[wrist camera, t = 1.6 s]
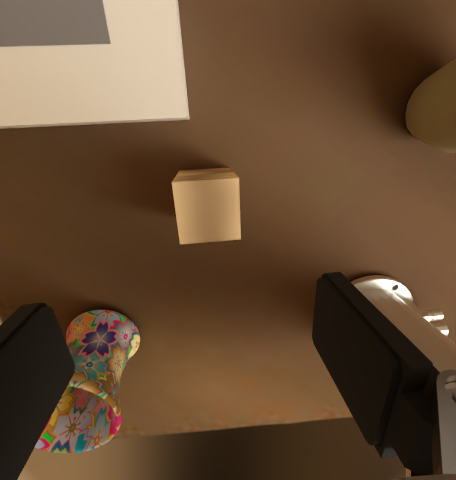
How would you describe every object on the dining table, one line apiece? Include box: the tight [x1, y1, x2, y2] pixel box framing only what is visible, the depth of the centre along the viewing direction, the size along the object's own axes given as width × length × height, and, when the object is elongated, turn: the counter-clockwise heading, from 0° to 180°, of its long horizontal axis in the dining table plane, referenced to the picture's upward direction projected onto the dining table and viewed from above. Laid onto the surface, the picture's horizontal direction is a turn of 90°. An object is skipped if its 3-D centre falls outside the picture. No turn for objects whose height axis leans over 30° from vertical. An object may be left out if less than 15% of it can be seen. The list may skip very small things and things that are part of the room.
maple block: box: [172, 168, 241, 244], centre depth 23 cm, size 5×5×7 cm
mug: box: [35, 310, 140, 453], centre depth 27 cm, size 12×9×11 cm
